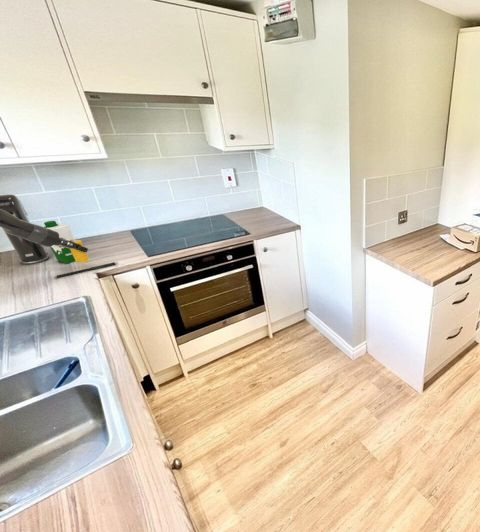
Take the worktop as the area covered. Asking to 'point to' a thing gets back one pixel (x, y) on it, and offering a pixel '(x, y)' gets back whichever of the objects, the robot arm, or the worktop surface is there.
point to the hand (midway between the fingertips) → (82, 249)
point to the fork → (87, 269)
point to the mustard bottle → (79, 252)
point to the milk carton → (64, 232)
